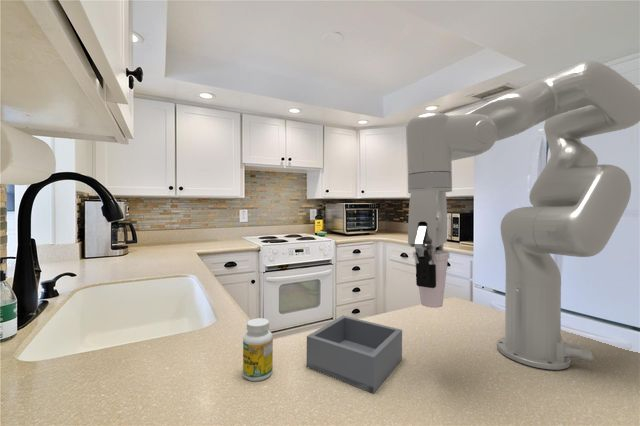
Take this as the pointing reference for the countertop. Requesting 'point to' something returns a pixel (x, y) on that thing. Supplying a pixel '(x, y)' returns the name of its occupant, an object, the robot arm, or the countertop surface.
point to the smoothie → (435, 295)
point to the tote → (355, 351)
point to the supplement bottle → (257, 350)
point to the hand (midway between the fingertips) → (431, 281)
